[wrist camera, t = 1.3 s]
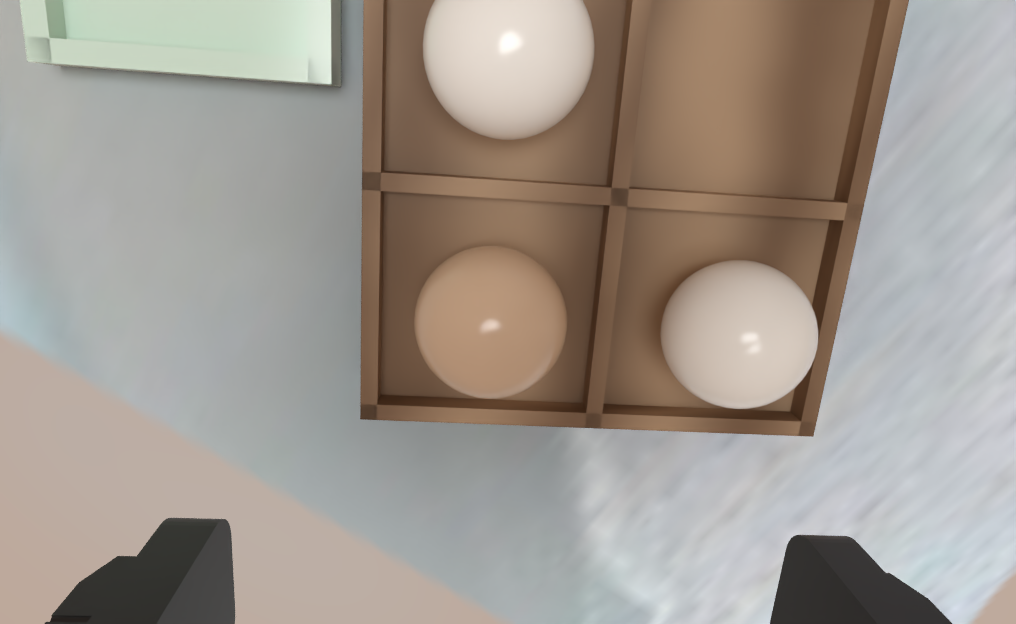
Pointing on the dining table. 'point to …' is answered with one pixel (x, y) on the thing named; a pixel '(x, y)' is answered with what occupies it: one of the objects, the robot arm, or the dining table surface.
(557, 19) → the white egg
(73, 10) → the dish
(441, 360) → the brown egg
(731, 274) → the white egg
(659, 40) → the egg tray
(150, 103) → the dining table surface
